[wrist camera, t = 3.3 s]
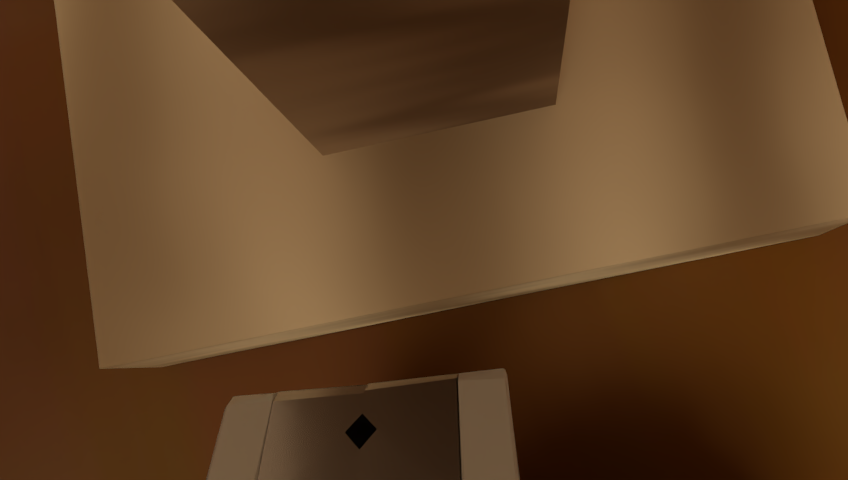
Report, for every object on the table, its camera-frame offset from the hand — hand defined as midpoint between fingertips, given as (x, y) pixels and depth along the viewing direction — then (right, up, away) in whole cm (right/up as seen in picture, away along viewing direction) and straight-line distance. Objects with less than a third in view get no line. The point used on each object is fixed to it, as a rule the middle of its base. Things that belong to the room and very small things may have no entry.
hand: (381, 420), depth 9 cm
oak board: (+1, +5, +11) cm, 12 cm away
